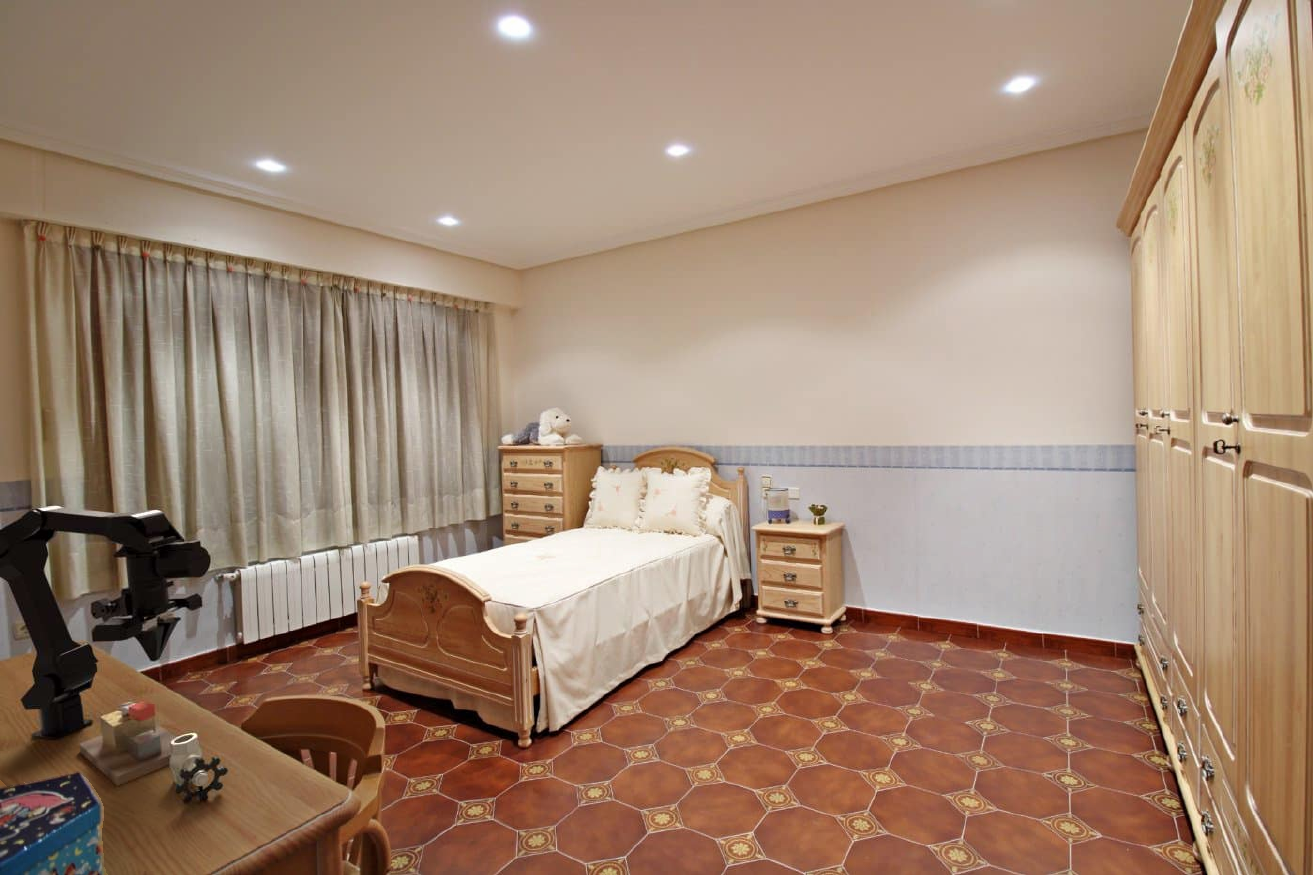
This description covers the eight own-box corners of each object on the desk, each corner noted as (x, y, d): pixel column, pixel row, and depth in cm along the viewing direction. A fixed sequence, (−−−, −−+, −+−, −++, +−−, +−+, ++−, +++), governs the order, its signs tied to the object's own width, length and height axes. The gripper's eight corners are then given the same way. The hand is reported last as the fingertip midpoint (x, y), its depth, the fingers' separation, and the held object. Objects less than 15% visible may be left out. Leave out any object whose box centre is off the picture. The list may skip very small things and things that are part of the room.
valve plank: (79, 751, 111) (78, 743, 111) (149, 725, 119) (148, 718, 119) (117, 785, 99) (116, 776, 99) (191, 754, 108) (190, 746, 107)
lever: (116, 713, 109) (115, 702, 109) (131, 707, 111) (130, 696, 111) (140, 721, 106) (139, 710, 106) (155, 715, 108) (154, 704, 108)
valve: (159, 783, 99) (177, 813, 92) (155, 743, 99) (172, 770, 91) (209, 764, 104) (230, 790, 96) (205, 726, 104) (225, 749, 96)
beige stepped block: (98, 740, 111) (94, 707, 111) (137, 726, 116) (134, 694, 115) (129, 766, 102) (125, 730, 102) (171, 749, 107) (167, 715, 106)
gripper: (147, 567, 126) (154, 642, 127) (56, 596, 108) (65, 684, 109) (201, 565, 126) (207, 641, 127) (119, 593, 108) (128, 682, 108)
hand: (155, 660), depth 118 cm, fingers closed
